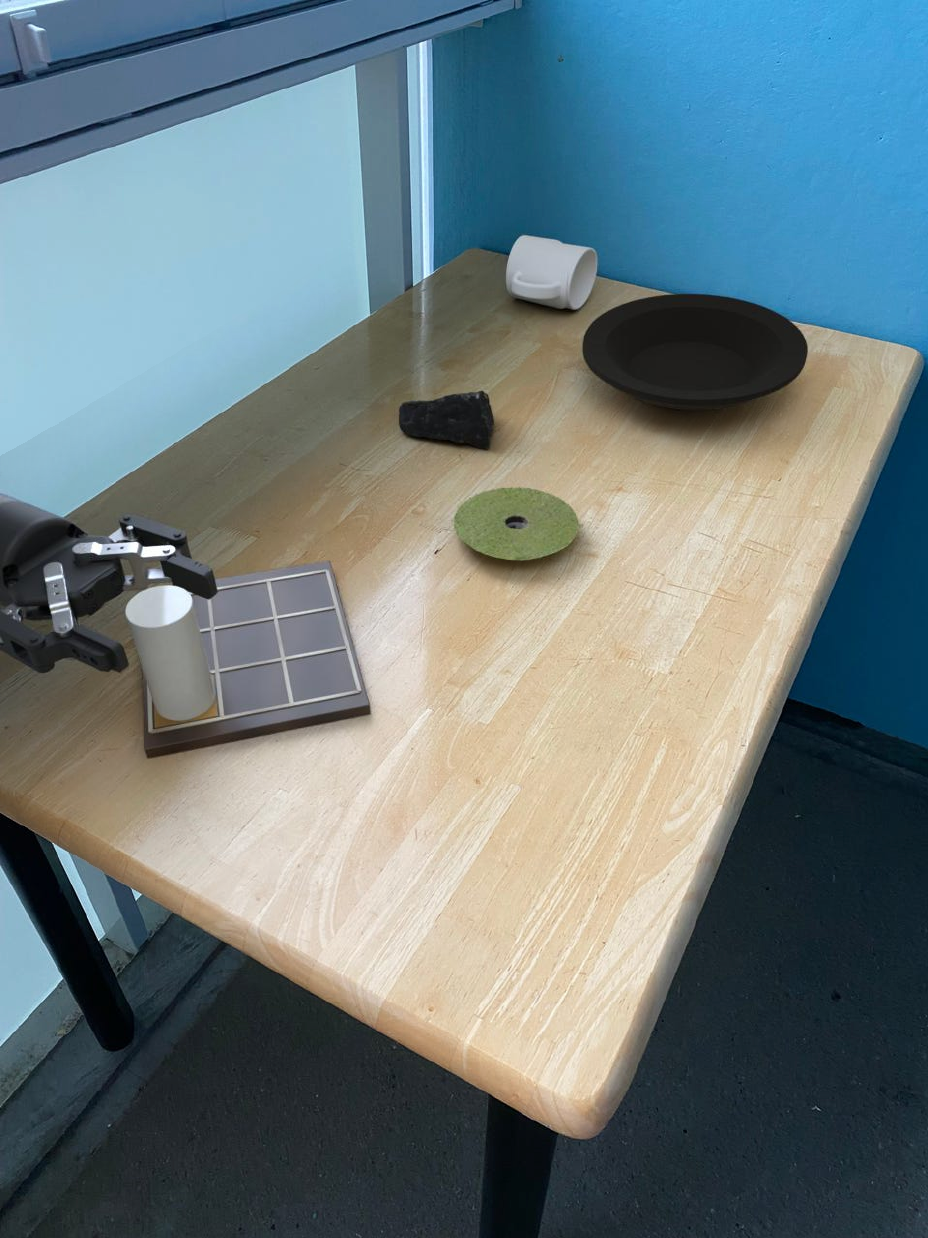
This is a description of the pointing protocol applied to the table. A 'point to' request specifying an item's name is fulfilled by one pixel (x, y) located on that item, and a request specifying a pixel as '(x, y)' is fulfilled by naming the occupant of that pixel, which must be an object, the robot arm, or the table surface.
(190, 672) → the tall white cylinder
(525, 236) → the mug
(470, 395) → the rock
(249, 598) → the board
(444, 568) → the table surface
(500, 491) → the green grinding disc
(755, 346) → the plate
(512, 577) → the table surface
